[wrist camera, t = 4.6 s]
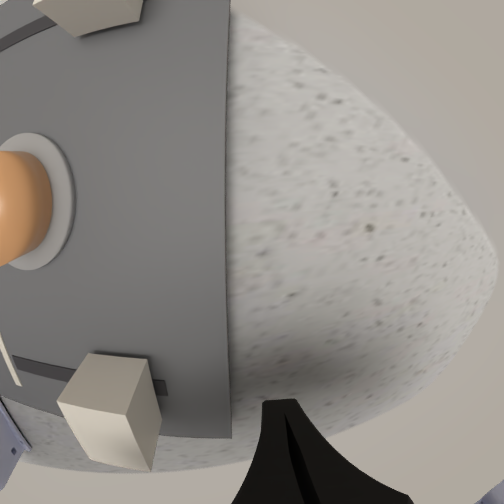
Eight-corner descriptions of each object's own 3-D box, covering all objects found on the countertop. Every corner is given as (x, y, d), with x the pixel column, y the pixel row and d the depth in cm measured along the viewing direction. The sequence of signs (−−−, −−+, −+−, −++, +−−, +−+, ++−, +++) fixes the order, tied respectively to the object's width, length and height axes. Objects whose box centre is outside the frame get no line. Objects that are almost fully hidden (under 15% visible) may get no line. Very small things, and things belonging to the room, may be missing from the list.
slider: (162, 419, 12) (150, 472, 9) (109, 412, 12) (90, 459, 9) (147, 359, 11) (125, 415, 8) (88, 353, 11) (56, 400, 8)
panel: (231, 420, 15) (232, 444, 13) (3, 381, 14) (-9, 396, 12) (233, -47, 8) (234, -69, 6) (-21, 33, 7) (-37, 27, 5)
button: (57, 253, 9) (29, 268, 8) (-7, 253, 9) (-33, 266, 7) (51, 142, 8) (21, 139, 6) (-13, 160, 8) (-42, 162, 6)
